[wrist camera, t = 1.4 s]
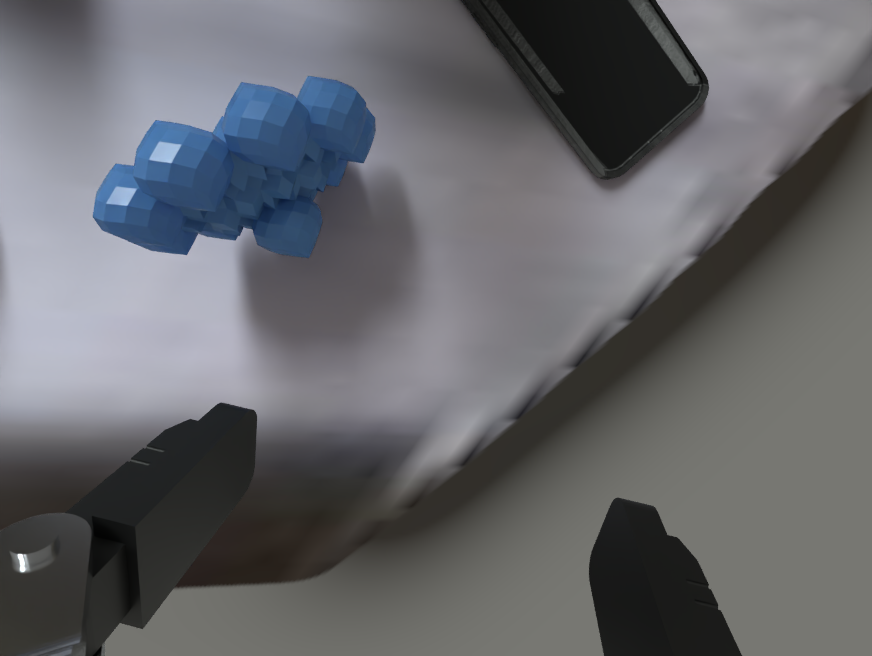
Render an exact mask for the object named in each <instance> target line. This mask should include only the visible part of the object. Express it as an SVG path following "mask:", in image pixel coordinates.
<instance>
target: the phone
mask: <svg viewBox="0 0 872 656" xmlns="http://www.w3.org/2000/svg"><path fill="white" fill-rule="evenodd" d="M461 1H462V2H463V3H464V5H465V6H466V7H467V8H468V10H469V11H470V12H471V14H472V16H473V17H474V18H475V20H476V21H477V22H478V24H479V25H480V26H481V28H482V29H484V31H485V32H486V35H487V36H488V38H489V39H490V40H491V41H492V43H493V44H494V45H495V47H497V48H498V49H499V50H500V52H501V53H502V54H503V56H504V57H505V58H506V60H507V61H508V62H509V64H510V65H511V66H512V68H513V69H514V70H515V72H516V73H517V74H518V76H519V77H520V78H521V79H522V81H523V82H524V83H525V85H526V86H527V87H528V89H529V90H530V91H531V93H532V94H533V95H534V97H535V98H536V99H537V101H538V102H539V103H540V104H541V106H542V107H543V108H544V110H545V111H546V112H547V114H548V115H549V116H550V118H551V119H552V120H553V122H554V123H555V124H556V126H557V127H558V128H559V130H560V131H561V132H562V133H563V135H564V136H565V137H566V139H567V140H568V141H569V143H570V144H571V145H572V147H573V148H574V149H575V151H576V152H577V153H578V155H579V156H580V157H581V159H582V160H583V161H584V162H585V164H586V165H587V166H588V168H589V169H590V170H591V172H592V173H593V174H594V175H595V176H596V177H599V178H601V179H612V178H615V177H619V176H621V175H622V174H624V173H625V172H627V171H628V170H629V169H630V168H631V167H632V166H633V165H635V164H636V163H637V162H638V161H639V160H640V159H641V158H642V157H644V156H645V155H646V154H647V153H648V152H649V151H650V150H652V149H653V148H654V147H655V146H656V145H657V144H658V143H659V142H661V141H662V140H663V139H664V138H665V137H666V136H667V135H669V134H670V133H671V132H672V131H673V130H674V129H675V128H676V127H678V126H679V125H680V124H681V123H682V122H683V121H684V120H686V119H687V118H688V117H689V116H690V115H691V114H692V113H693V112H695V111H696V110H697V109H698V108H699V107H700V106H701V105H702V104H703V103H704V102H705V100H706V98H707V95H708V90H709V85H708V80H707V77H706V75H705V74H704V72H703V71H702V69H701V68H700V66H699V65H698V63H697V62H696V60H695V59H694V57H693V56H692V54H691V53H690V51H689V50H688V48H687V47H686V45H685V44H684V42H683V41H682V39H681V38H680V36H679V35H678V33H677V32H676V30H675V29H674V27H673V26H672V24H671V23H670V21H669V20H668V18H667V17H666V15H665V14H664V12H663V11H662V9H661V8H660V6H659V5H658V3H657V2H656V0H461Z"/></svg>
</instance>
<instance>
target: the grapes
mask: <svg viewBox="0 0 872 656" xmlns="http://www.w3.org/2000/svg"><path fill="white" fill-rule="evenodd" d="M375 130H376V128H375V117H374V116H373V115H372V114H371V112H370V111H369V110H368V109H367V108H366V102H365V101H364V99H363V98H362V97H361V96H360V94H359V93H358V92H357V91H356V90H355V89H354V88H353V87H351V86H349V85H347V84H344V83H342V82H340V81H337V80H332V79H326V78H320V77H312V76H308V77H307V79H306V81H305V83H304V84H303V86H302V88H301V90H300V93H299V95H298V97H297V98H296V97H295V96H294V95H293V94H290V93H288V92H285V91H282V90H280V89H277V88H274V87H269V86H263V85H256V84H250V83H243V82H241V83H240V85H239V87H238V88H237V90H236V92H235V93H234V95H233V97H232V99H231V101H230V102H229V104H228V106H227V108H226V111H225V115H224V117H223V116H222V117H221V119H220V120H219V122H218V124H217V126H216V127H215V129H214V131H213V133H212V132H209V131H205V130H202V129H199V128H195V127H192V126H188V125H184V124H179V123H173V122H166V121H159V120H155V122H154V123H153V124H152V126H151V127H150V129H149V130H148V131H147V133H146V134H145V136H144V138H143V140H142V141H141V143H140V145H139V146H138V148H137V151H136V157H135V163H134V166H131V165H122V164H115V165H114V167H113V168H112V169H111V170H110V172H109V173H108V174H107V176H106V178H105V179H104V181H103V183H102V184H101V186H100V188H99V189H98V191H97V194H96V199H95V205H94V212H93V218H94V219H95V221H96V222H97V224H98V225H99V226H100V228H101V229H102V230H103V231H105V232H108V233H110V234H113V235H115V236H118V237H120V238H123V239H125V240H128V241H129V242H131V243H134V244H136V245H139V246H141V247H144V248H146V249H149V250H151V251H157V252H165V253H172V254H183V255H187V254H188V252H189V250H190V248H191V246H192V245H193V243H194V241H195V239H196V237H197V235H198V234H201V235H204V236H207V237H213V238H220V239H228V240H236V239H237V237H238V236H240V234H241V232H242V230H243V227H245V228H249V229H253V233H254V236H255V239H256V242H257V245H259V246H261V247H263V248H265V249H267V250H269V251H271V252H274V253H277V254H282V255H288V256H295V257H305V258H309V257H310V255H311V252H312V250H313V248H314V246H315V244H316V241H317V238H318V234H319V231H320V228H321V225H322V216H321V211H320V209H319V207H318V205H317V204H316V203H314V202H313V200H314V198H315V196H316V194H317V192H318V191H321V192H324V189H325V185H330V186H339V183H340V181H341V179H342V177H343V175H344V172H345V169H346V166H347V163H348V161H351V162H358V163H364V161H365V159H366V157H367V155H368V153H369V150H370V147H371V144H372V142H373V139H374V135H375Z"/></svg>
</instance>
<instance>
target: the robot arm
mask: <svg viewBox="0 0 872 656" xmlns="http://www.w3.org/2000/svg"><path fill="white" fill-rule="evenodd" d="M256 429H257V415H256V412H255V411H254V410H251V409H247V408H243V407H239V406H234V405H230V404H226V403H219V404H217V405H216V406H215V407H213V408H212V409H211V410H210V411H209V412H208V413H207V414H205V415H204V416H203V417H202V418H201V419H200V420H199V421H196V420H192V419H189V420H187V421H184V422H182V423H180V424H178V425H175V426H173V427H171V428H168V429H166V430H165V431H163V432H162V433H161V434H160V435H159V436H157V437H156V438H155V439H154V440H152V441H151V442H150V443H149V444H148V445H147V447H146V448H145V449H144V448H143V449H142V450H140V451H139V452H138V453H137V454H136V455H134V456H133V457H132V458H131V461H130V462H128V461H127V462H126V463H125V464H124V465H122V466H121V467H120V468H119V469H117V470H116V471H115V472H114V473H113V474H111V475H110V476H109V477H108V478H107V479H105V480H104V481H103V482H102V483H101V484H99V485H98V486H97V487H96V488H95V489H93V490H92V491H91V492H90V493H89V494H87V495H86V496H85V497H84V498H82V499H81V500H80V501H79V502H78V503H76V504H75V505H74V506H73V507H72V508H70V509H69V510H68V511H67V512H65V513H50V514H43V515H39V516H34V517H31V518H28V519H25V520H22V521H20V522H17V523H15V524H13V525H11V526H9V527H7V528H5V529H3V530H2V531H0V656H105V640H106V639H107V638H108V637H109V636H110V634H111V633H112V632H113V631H114V629H115V628H116V627H117V626H118V624H119V623H122V624H126V625H130V626H134V627H137V628H141V629H143V628H144V627H145V625H146V624H147V622H148V621H149V620H150V619H151V617H152V616H153V615H154V613H155V612H156V611H157V609H158V608H159V607H160V605H161V604H162V603H163V601H164V600H165V599H166V597H167V596H168V595H169V593H170V592H171V591H172V590H173V588H174V587H175V586H176V584H177V583H178V582H179V580H180V579H181V578H182V576H183V575H184V574H185V572H186V571H187V570H188V568H189V567H190V566H191V564H192V563H193V562H194V560H195V559H196V558H197V556H198V555H199V554H200V552H201V551H202V550H203V548H204V547H205V546H206V544H207V543H208V542H209V540H210V539H211V538H212V536H213V535H214V534H215V533H216V531H217V530H218V529H219V527H220V526H221V525H222V523H223V522H224V521H225V519H226V518H227V517H228V515H229V514H230V513H231V511H232V510H233V509H234V507H235V506H236V505H237V503H238V502H239V501H240V499H241V498H242V497H243V495H244V494H245V492H246V491H247V489H248V487H249V485H250V482H251V480H252V477H253V473H254V468H255V451H256ZM589 580H590V586H591V591H592V596H593V601H594V606H595V611H596V617H597V621H598V627H599V632H600V637H601V642H602V647H603V653H604V656H742V655H741V653H740V651H739V648H738V646H737V644H736V642H735V640H734V638H733V636H732V633H731V631H730V629H729V627H728V625H727V623H726V621H725V618H724V616H723V614H722V612H721V611H720V610H718V603H717V601H716V599H715V597H714V595H713V593H712V591H711V589H709V588H708V585H709V584H708V582H707V580H706V578H705V576H704V574H703V571H702V569H701V567H700V565H699V563H698V561H697V559H696V558H695V557H694V556H693V555H692V554H691V552H690V551H689V550H688V549H687V548H686V547H685V546H684V545H683V543H682V542H681V541H680V540H679V539H678V538H677V537H673V536H669V535H667V533H666V531H665V528H664V526H663V524H662V521H661V519H660V516H659V514H658V512H657V510H656V508H655V507H654V506H651V505H647V504H642V503H638V502H634V501H630V500H626V499H621V498H615V499H614V500H613V502H612V503H611V506H610V508H609V510H608V513H607V515H606V518H605V520H604V522H603V525H602V527H601V530H600V532H599V535H598V537H597V540H596V542H595V544H594V547H593V550H592V553H591V557H590V564H589Z"/></svg>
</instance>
